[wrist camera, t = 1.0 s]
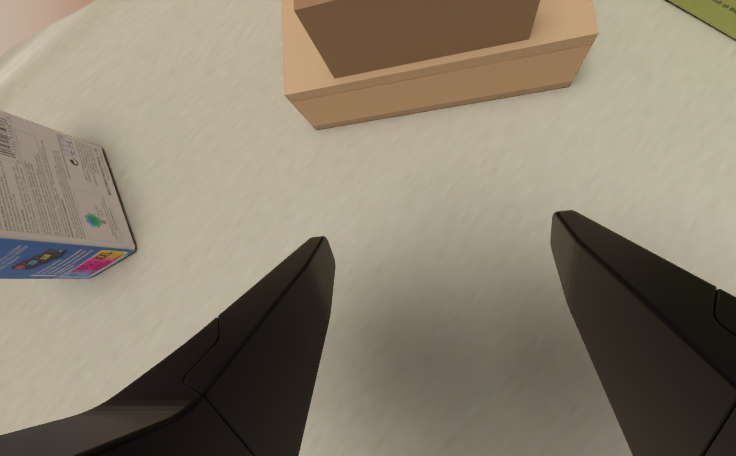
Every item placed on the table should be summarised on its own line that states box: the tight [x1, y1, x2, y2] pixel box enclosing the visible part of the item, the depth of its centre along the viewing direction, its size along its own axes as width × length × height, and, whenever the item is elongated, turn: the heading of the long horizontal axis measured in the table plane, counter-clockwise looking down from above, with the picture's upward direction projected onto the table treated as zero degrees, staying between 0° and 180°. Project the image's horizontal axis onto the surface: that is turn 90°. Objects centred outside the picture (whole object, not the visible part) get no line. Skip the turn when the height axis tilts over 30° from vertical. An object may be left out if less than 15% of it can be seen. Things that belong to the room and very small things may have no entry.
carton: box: [291, 44, 592, 130], centre depth 22 cm, size 16×8×4 cm, turn 95°
